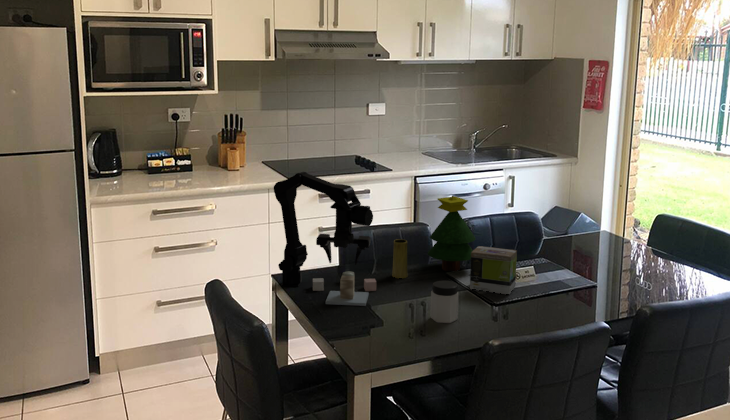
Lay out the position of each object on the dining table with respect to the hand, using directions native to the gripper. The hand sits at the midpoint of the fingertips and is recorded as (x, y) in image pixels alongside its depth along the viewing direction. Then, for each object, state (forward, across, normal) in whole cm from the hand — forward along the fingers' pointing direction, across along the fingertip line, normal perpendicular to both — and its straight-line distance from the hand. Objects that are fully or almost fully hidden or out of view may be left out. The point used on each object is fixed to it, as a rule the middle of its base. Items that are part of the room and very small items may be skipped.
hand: (343, 263), depth 264 cm
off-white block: (+12, -10, +5) cm, 16 cm away
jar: (+11, +37, -18) cm, 43 cm away
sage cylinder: (+12, 0, +14) cm, 18 cm away
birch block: (+10, +2, -5) cm, 12 cm away
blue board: (+12, +2, -5) cm, 13 cm away
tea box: (+11, +54, +14) cm, 57 cm away
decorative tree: (+11, +39, +36) cm, 54 cm away
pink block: (+12, +9, +7) cm, 16 cm away
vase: (+12, +19, +23) cm, 32 cm away
